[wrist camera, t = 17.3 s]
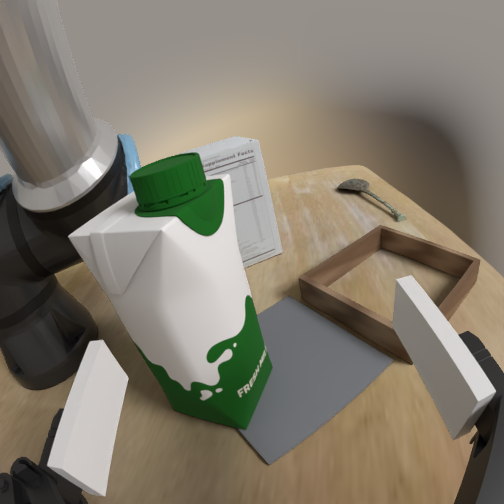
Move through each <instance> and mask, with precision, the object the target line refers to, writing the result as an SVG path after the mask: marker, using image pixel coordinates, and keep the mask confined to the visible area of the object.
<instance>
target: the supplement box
mask: <svg viewBox="0 0 504 504" xmlns="http://www.w3.org/2000/svg"><path fill="white" fill-rule="evenodd" d="M191 152H197V153H199V155H200V158H201V162H202V166H203V169H204V173H205V176H213V175H221V174H229V175H230V179H231V189H232V198H233V207H234V216H235V225H236V233H237V241H238V246H239V251H240V254H241V258H242V262H243V266H244V268H246V267H248V266H251V265H253V264H256V263H258V262H261V261H263V260H266V259H268V258H271V257H273V256H275V255H278V254H280V253H282V252H283V251H282V247H281V242H280V237H279V232H278V227H277V223H276V218H275V213H274V208H273V203H272V199H271V194H270V190H269V185H268V180H267V176H266V171H265V168H264V162H263V158H262V153H261V149H260V144H259V141H258V140H255V139H250V138H244V137H238V136H235V137H232V138H228V139H224V140H221V141H218V142H214V143H211V144H208V145H204V146H201V147H198V148H195V149H192V150H189V151H186V152H183V153H180V154H184V153H191Z"/></svg>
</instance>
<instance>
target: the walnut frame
mask: <svg viewBox="0 0 504 504" xmlns="http://www.w3.org/2000/svg"><path fill="white" fill-rule="evenodd" d="M380 248H384V249H387V250H390V251H392V252H395V253H398V254H400V255H403V256H406V257H408V258H411V259H413V260H416V261H418V262H421V263H424V264H426V265H429V266H431V267H434V268H436V269H439V270H441V271H444V272H446V273H449V274H451V275H453V276H456V277H458V278H461V279H460V280H459V281H458V283H457V284H456V285H455V287H454V288H453V289H452V291H451V292H450V293H449V294H448V296H447V297H446V298H445V299H444V301H443V302H442V303H441V304H440V306H439V307H438V309H439V310H440V312H441V313H442V314H443V315H444V317H445V318H446V319H447V321H449V319H450V318H451V317H452V315H453V314H454V313H455V311H456V310H457V308H458V307H459V306H460V304H461V303H462V301H463V300H464V299H465V297H466V296H467V294H468V293H469V291H470V290H471V288H472V287H473V285H474V284H475V282H476V280H477V275H478V270H479V265H480V260H479V259H477V258H474V257H471V256H469V255H466V254H463V253H460V252H458V251H455V250H452V249H450V248H447V247H444V246H441V245H438V244H435V243H433V242H430V241H427V240H424V239H421V238H418V237H415V236H412V235H409V234H406V233H403V232H400V231H397V230H394V229H391V228H388V227H385V226H382V225H379V226H378V227H376V228H375V229H373V230H372V231H370V232H369V233H367V234H366V235H364V236H363V237H361V238H360V239H358V240H357V241H355V242H354V243H352V244H351V245H349V246H347V247H346V248H344V249H343V250H341V251H340V252H338V253H337V254H335V255H333V256H332V257H330V258H329V259H327V260H326V261H324V262H322V263H321V264H319V265H318V266H316V267H315V268H313V269H311V270H310V271H308V272H307V273H305V274H303V275H302V276H300V277H299V284H300V290H301V297H302V299H303V300H305V301H306V302H308V303H310V304H311V305H313V306H315V307H316V308H318V309H320V310H321V311H323V312H325V313H326V314H328V315H330V316H331V317H333V318H335V319H336V320H338V321H340V322H341V323H343V324H345V325H346V326H348V327H350V328H351V329H353V330H355V331H356V332H358V333H360V334H361V335H363V336H365V337H366V338H368V339H370V340H371V341H373V342H375V343H376V344H378V345H380V346H381V347H383V348H385V349H386V350H388V351H390V352H391V353H393V354H395V355H396V356H398V357H400V358H402V359H403V360H405V361H407V362H408V363H410V364H413V362H412V360H411V358H410V356H409V354H408V353H407V351H406V349H405V347H404V346H403V344H402V342H401V340H400V339H399V337H398V335H397V334H396V332H395V330H394V328H393V327H392V321H390V320H388V319H386V318H384V317H382V316H380V315H378V314H377V313H375V312H373V311H371V310H369V309H367V308H365V307H363V306H361V305H360V304H358V303H356V302H354V301H352V300H350V299H348V298H346V297H345V296H343V295H341V294H339V293H337V292H335V291H333V290H331V289H329V288H328V287H327V286H329V285H330V284H332V283H333V282H334V281H336V280H337V279H339V278H340V277H342V276H343V275H344V274H346V273H347V272H349V271H350V270H351V269H353V268H354V267H356V266H357V265H358V264H360V263H361V262H363V261H364V260H365V259H367V258H368V257H369V256H371V255H372V254H373V253H375V252H376V251H378V250H379V249H380Z"/></svg>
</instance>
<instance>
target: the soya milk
mask: <svg viewBox="0 0 504 504" xmlns="http://www.w3.org/2000/svg"><path fill="white" fill-rule="evenodd" d="M130 180H131V183H132V186H133V190H134V191H133V192H132V193H130V194H129V195H127V196H126V197H124V198H122V199H121V200H119V201H118V202H116V203H115V204H113V205H112V206H110V207H109V208H107V209H106V210H104V211H103V212H101V213H100V214H98V215H97V216H95V217H94V218H93V219H91V220H90V221H88V222H87V223H85V224H84V225H83V226H81V227H80V228H78V229H77V230H76V231H74V232H73V233H71V234H70V235H69V236H68V238H69V239H70V241H71V242H72V244H73V245H74V247H75V248H76V250H77V252H78V253H79V255H80V256H81V258H82V259H83V261H84V262H85V264H86V265H87V267H88V268H89V270H90V271H91V273H92V274H93V276H94V277H95V278H96V280H97V281H98V283H99V284H100V286H101V287H102V289H103V290H104V291H105V293H106V294H107V296H108V298H109V299H110V301H111V303H112V305H113V306H114V308H115V310H116V312H117V314H118V316H119V317H120V319H121V321H122V323H123V324H124V326H125V328H126V330H127V331H128V333H129V335H130V337H131V338H132V340H133V342H134V343H135V345H136V347H137V348H138V350H139V352H140V353H141V355H142V357H143V358H144V360H145V361H146V363H147V365H148V366H149V368H150V369H151V371H152V372H153V374H154V376H155V377H156V379H157V380H158V382H159V383H160V385H161V387H162V389H163V391H164V392H165V394H166V396H167V398H168V400H169V402H170V403H171V405H172V407H173V409H174V410H175V411H178V412H181V413H184V414H187V415H191V416H194V417H197V418H201V419H205V420H208V421H212V422H216V423H219V424H223V425H227V426H231V427H235V428H240V429H244V430H247V427H248V425H249V423H250V420H251V418H252V416H253V414H254V411H255V409H256V407H257V404H258V402H259V400H260V397H261V395H262V392H263V390H264V388H265V385H266V383H267V380H268V378H269V376H270V373H271V371H272V368H273V366H272V363H271V361H270V358H269V355H268V352H267V349H266V346H265V343H264V340H263V337H262V333H261V329H260V326H259V322H258V318H257V315H256V311H255V307H254V303H253V300H252V296H251V292H250V289H249V285H248V281H247V277H246V273H245V270H244V266H243V262H242V258H241V254H240V251H239V246H238V241H237V233H236V225H235V216H234V207H233V198H232V189H231V179H230V175H229V174H221V175H213V176H205V173H204V169H203V166H202V162H201V158H200V155H199V153H197V152H191V153H184V154H179V155H175V156H171V157H168V158H165V159H161V160H158V161H156V162H153V163H151V164H148V165H146V166H144V167H142V168H140V169H138V170H136V171H134V172H133V173H132V174H131V175H130Z"/></svg>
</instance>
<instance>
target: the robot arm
mask: <svg viewBox="0 0 504 504" xmlns="http://www.w3.org/2000/svg"><path fill="white" fill-rule="evenodd" d="M0 150H1V152H2V153H3V155H4V156H5V158H6V159H7V161H8V162H9V163H10V165H11V167H12V168H13V170H14V175H13V177H12V175H10V174H6V175H4V176H2V177H0V348H1V351H2V353H3V356H4V358H5V361H6V363H7V366H8V368H9V370H10V372H11V374H12V375H13V376H14V377H15V378H16V380H17V381H18V382H19V383H20V384H21V385H22V386H23V387H25V388H27V389H31V390H41V389H46V388H49V387H52V386H54V385H56V384H58V383H60V382H62V381H64V380H65V379H67V378H68V377H69V376H71V375H72V374H73V373H74V372H76V371H77V370H78V369H79V370H78V372H77V375H76V377H75V380H74V383H73V385H72V388H71V391H70V394H69V397H68V399H67V402H66V405H65V408H64V409H59V411H58V412H57V414H56V415H55V416H54V418H53V421H52V424H51V427H50V428H51V430H49V433H48V437H47V440H46V443H45V446H44V449H43V453H42V456H41V460H40V463H39V466H38V465H36V464H35V463H33V462H32V461H31V460H29V459H28V458H26V457H20V458H18V459H17V460H16V461H15V462H14V463H13V465H12V467H11V471H10V474H11V476H10V475H9V474H7V473H1V474H0V504H88V502H87V501H86V499H85V498H84V496H83V495H82V494H81V491H82V490H84V491H86V492H87V493H89V494H91V495H98V496H104V497H105V495H106V488H107V482H108V475H109V470H110V464H111V458H112V453H113V447H114V442H115V437H116V432H117V427H118V423H119V418H120V413H121V409H122V404H123V400H124V396H125V391H126V387H127V383H128V379H129V378H128V376H127V375H126V373H125V372H124V371H123V369H122V368H121V366H120V365H119V363H118V362H117V360H116V359H115V358H114V356H113V355H112V353H111V352H110V350H109V349H108V347H107V345H106V344H105V342H104V341H103V340H97V337H98V328H97V325H96V323H95V321H94V320H93V318H92V316H91V314H90V313H89V311H88V310H87V309H86V308H85V307H84V306H83V305H81V304H80V303H79V302H78V301H77V300H76V299H75V298H74V297H73V296H72V295H71V294H69V293H68V292H67V291H66V290H65V289H64V288H63V287H62V286H61V285H60V284H59V282H58V280H57V278H56V277H55V275H54V274H55V273H57V272H60V271H62V270H64V269H67V268H69V267H71V266H74V265H76V264H78V263H81V262H83V259H82V258H81V256H80V255H79V253H78V252H77V250H76V248H75V247H74V245H73V244H72V242H71V241H70V239H69V238H68V236H69V235H70V234H71V233H73V232H74V231H76V230H77V229H78V228H80V227H81V226H83V225H84V224H85V223H87V222H88V221H90V220H91V219H93V218H94V217H95V216H97V215H98V214H100V213H101V212H103V211H104V210H106V209H107V208H109V207H110V206H112V205H113V204H115V203H116V202H118V201H119V200H121V199H122V198H124V197H126V196H127V195H129V194H130V193H132V192H133V191H134V190H133V186H132V183H131V180H130V175H131V174H132V173H133V172H134V171H136V170H138V169H140V168H141V165H140V161H139V157H138V153H137V149H136V146H135V144H134V141H133V138H132V137H131V136H130V135H128V134H124V135H121V134H118V135H116V133H115V131H114V129H113V127H112V126H111V125H110V124H109V123H107V122H106V121H104V120H102V119H99V118H93V116H92V114H91V111H90V108H89V105H88V102H87V100H86V97H85V94H84V91H83V88H82V85H81V82H80V79H79V76H78V73H77V70H76V67H75V63H74V60H73V57H72V54H71V50H70V47H69V44H68V40H67V37H66V33H65V30H64V26H63V22H62V18H61V15H60V10H59V7H58V2H57V0H0ZM392 327H393V328H394V330H395V332H396V334H397V335H398V337H399V339H400V340H401V342H402V344H403V346H404V347H405V349H406V351H407V353H408V354H409V356H410V358H411V360H412V362H413V363H414V365H415V367H416V369H417V371H418V373H419V374H420V376H421V378H422V380H423V382H424V384H425V386H426V387H427V389H428V391H429V393H430V395H431V397H432V399H433V401H434V403H435V405H436V407H437V409H438V411H439V413H440V415H441V417H442V419H443V421H444V423H445V425H446V427H447V429H448V431H449V433H450V435H451V437H452V439H453V440H455V439H457V438H459V437H461V436H463V435H465V434H467V433H469V432H470V431H471V429H472V428H473V427H474V425H475V426H476V428H477V430H478V431H477V432H476V434H475V435H474V436H473V437H472V439H471V441H470V443H469V444H472V443H473V442H474V444H473V448H472V452H471V455H470V459H469V462H468V465H467V468H466V471H465V474H464V477H463V480H462V483H461V486H460V489H459V492H458V494H457V497H456V499H455V502H454V504H504V373H503V371H502V370H501V368H500V367H499V365H498V364H497V363H496V361H495V360H494V358H493V357H491V354H490V353H489V351H488V350H487V349H485V346H484V345H483V343H482V342H481V341H480V339H479V338H478V337H476V336H475V335H473V334H472V333H470V332H469V331H466V332H464V333H462V334H459V335H458V334H457V333H456V331H455V330H454V329H453V327H452V326H451V325H450V323H449V322H448V321H447V319H446V318H445V317H444V315H443V314H442V313H441V312H440V310H439V309H438V308H437V306H436V305H435V304H434V303H433V301H432V300H431V299H430V297H429V296H428V295H427V294H426V292H425V291H424V290H423V289H422V288H421V286H420V285H419V284H418V283H417V281H416V280H415V279H414V278H413V277H412V275H410V276H407V277H403V278H400V279H396V289H395V302H394V312H393V322H392ZM474 440H475V441H474Z"/></svg>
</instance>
